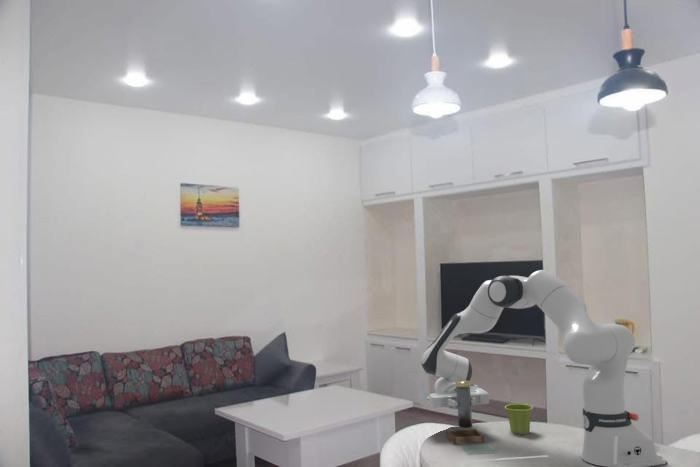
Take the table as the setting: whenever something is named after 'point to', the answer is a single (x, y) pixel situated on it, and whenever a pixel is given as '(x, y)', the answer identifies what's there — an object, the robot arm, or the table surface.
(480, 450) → the mat
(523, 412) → the plant pot
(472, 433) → the tray
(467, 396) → the pepper mill
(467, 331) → the robot arm
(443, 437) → the table surface
